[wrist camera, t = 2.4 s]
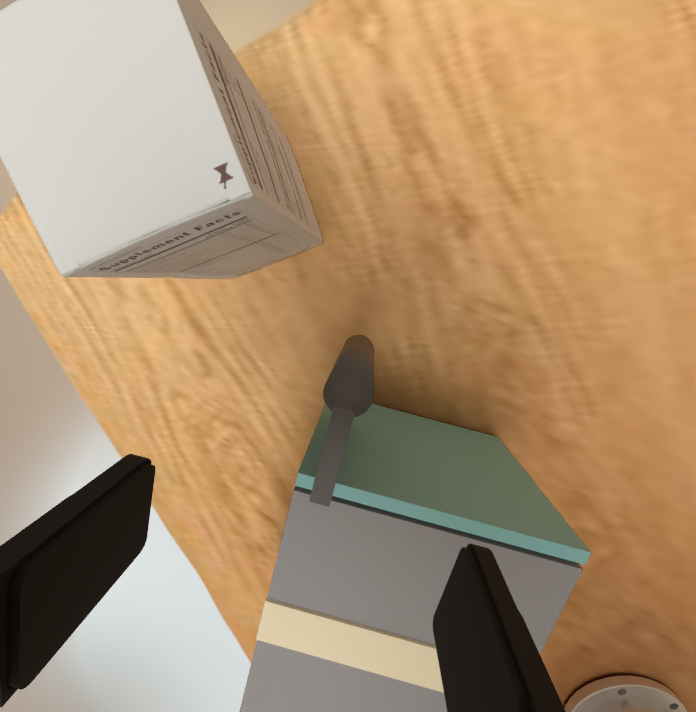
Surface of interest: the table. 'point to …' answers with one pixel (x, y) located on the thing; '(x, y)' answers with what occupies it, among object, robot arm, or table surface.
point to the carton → (375, 608)
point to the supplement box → (144, 143)
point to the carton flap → (424, 467)
